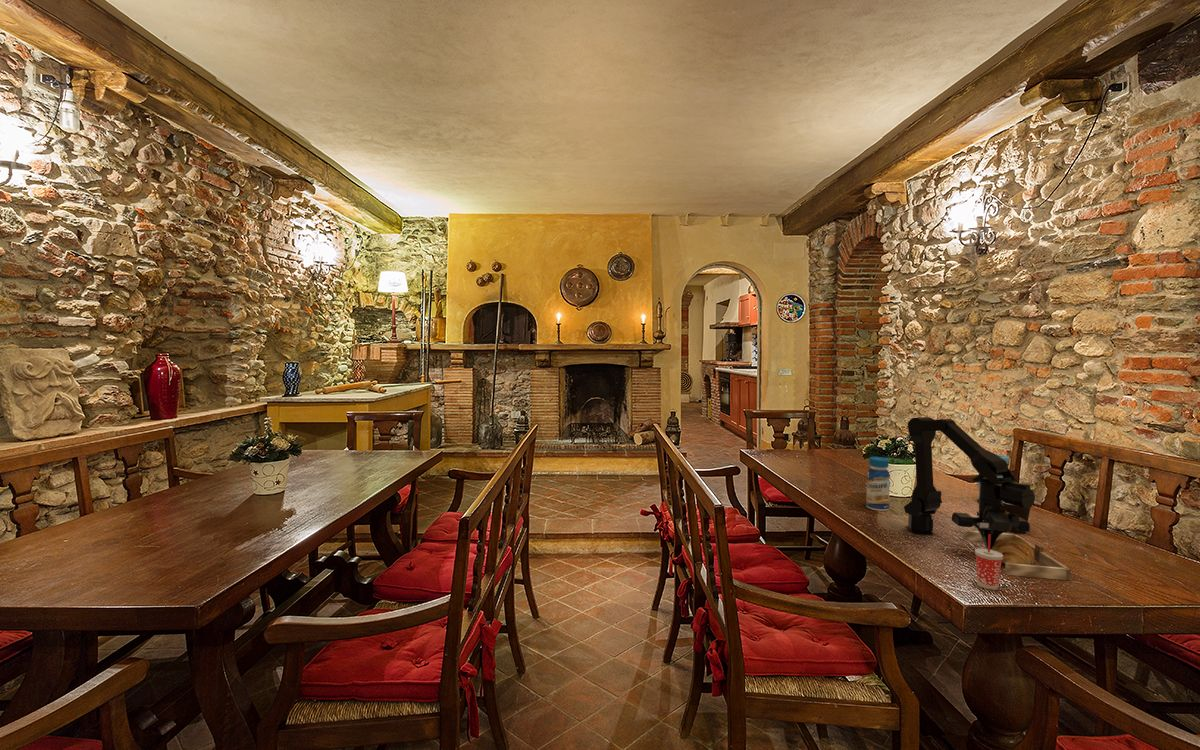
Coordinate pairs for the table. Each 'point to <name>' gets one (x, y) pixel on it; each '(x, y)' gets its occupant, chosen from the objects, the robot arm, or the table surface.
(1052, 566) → the frame
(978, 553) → the beverage cup
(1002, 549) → the croissant
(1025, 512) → the coffee mug
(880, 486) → the beverage bottle
